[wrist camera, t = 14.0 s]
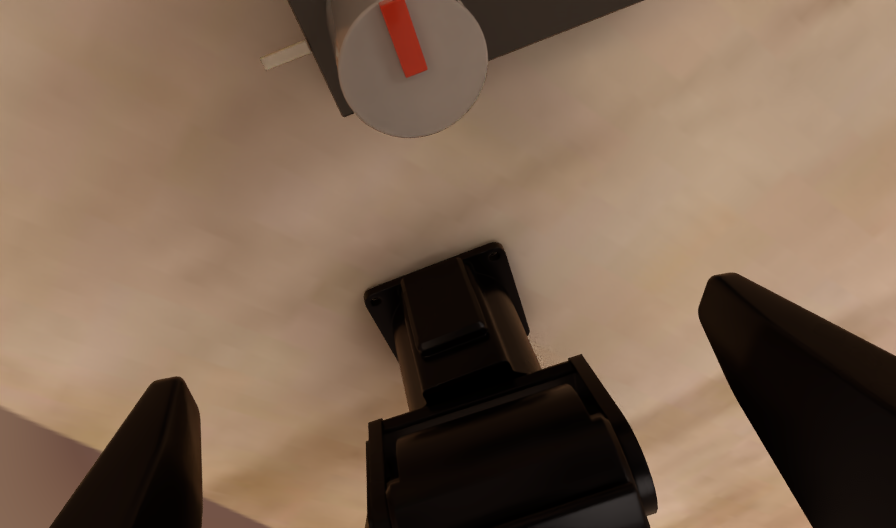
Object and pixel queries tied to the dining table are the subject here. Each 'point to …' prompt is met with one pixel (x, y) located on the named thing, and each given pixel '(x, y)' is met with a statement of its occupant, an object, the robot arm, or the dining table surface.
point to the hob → (491, 3)
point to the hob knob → (407, 62)
